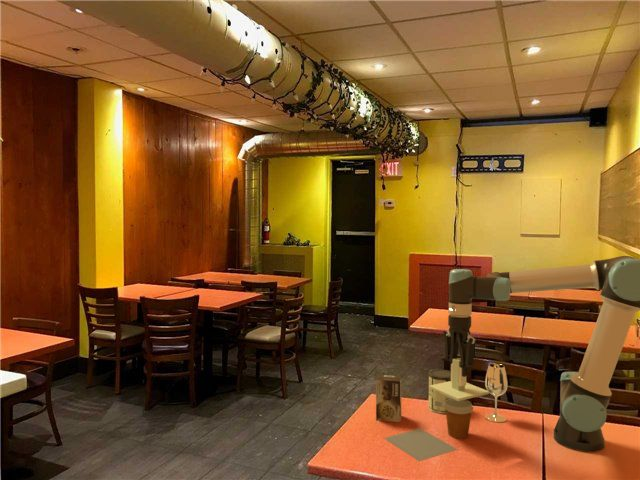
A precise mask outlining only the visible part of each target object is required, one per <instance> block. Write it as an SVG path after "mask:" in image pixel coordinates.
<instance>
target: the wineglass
mask: <svg viewBox="0 0 640 480" xmlns="http://www.w3.org/2000/svg"><path fill="white" fill-rule="evenodd" d="M484 385H485V390H487V391H489V394H490V395H492V396H493V397H494V412H493V413H488V414H485V416H484V418H485V419H486V420H487V421H490V422H493V423H504V422H506V421H507V418H506V416H504V415H502V414H499V413H498V411H497V409H498V408H497V407H498V398H499V397H500V396H502V395H504V394H505V393H506V391H507V390H508V377H507V372H506V368H505V365H503V364H500V363H490V364H488V368H487V370H486V374H485V381H484Z"/></svg>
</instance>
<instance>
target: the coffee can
mask: <svg viewBox="0 0 640 480" xmlns="http://www.w3.org/2000/svg"><path fill="white" fill-rule="evenodd" d="M449 381H451V372H450V370H447V369H431V370H429V371H428V407H427V408H428V410H430V411H431V412H433V413H437V414H445V415H446V409H445V407H444V404H445V402H446V400H448V399H451V398H450V397H448V396H446V395H443V394H441V393H439V392H437V391H434V390H432V389H430V388H429V386H430V385H434V384H439V383H444V382H449Z"/></svg>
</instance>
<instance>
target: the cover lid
mask: <svg viewBox="0 0 640 480" xmlns="http://www.w3.org/2000/svg"><path fill="white" fill-rule="evenodd" d="M460 365H461V359H460V357H457V358H455V359H453V360H452V383H451V381H449V382H444V383H439V384H434V385H430V386H429V385H428V389H429V388H430V389H432V390H434V391H437V392H439V393H441V394H443V395H446V396H448V397H450V398H452V399H455V400H457V401H461V400H469V399H473V398H477V397H482V396H486V395H489V394H490V393H489V391H487V389H484V388H481V387H479V386H476V385H473V384H472V383H469V382H466V385H464V386H459V366H460Z"/></svg>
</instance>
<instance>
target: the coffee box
mask: <svg viewBox="0 0 640 480" xmlns="http://www.w3.org/2000/svg"><path fill="white" fill-rule="evenodd" d="M375 421H381V422H382V421H384V422H395V423H401V421H402V375H392V374H377V376H376V379H375Z"/></svg>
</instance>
